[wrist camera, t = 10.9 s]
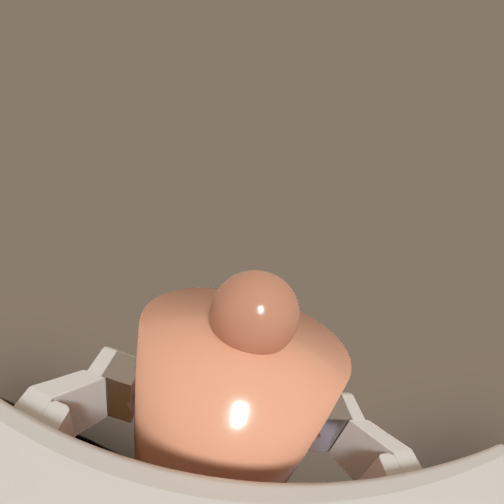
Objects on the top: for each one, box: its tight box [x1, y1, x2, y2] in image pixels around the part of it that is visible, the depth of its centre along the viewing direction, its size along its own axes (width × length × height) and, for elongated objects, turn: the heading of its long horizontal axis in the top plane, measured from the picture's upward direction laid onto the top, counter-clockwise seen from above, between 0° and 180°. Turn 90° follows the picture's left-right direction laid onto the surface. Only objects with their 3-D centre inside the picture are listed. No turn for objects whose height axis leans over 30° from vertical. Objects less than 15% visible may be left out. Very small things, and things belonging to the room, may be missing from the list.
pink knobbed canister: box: [134, 270, 351, 483], centre depth 9 cm, size 6×6×11 cm
